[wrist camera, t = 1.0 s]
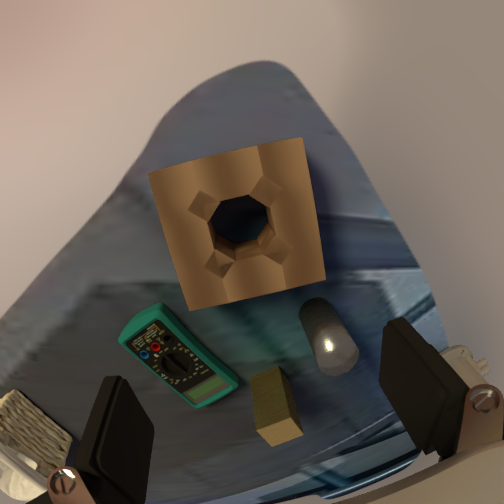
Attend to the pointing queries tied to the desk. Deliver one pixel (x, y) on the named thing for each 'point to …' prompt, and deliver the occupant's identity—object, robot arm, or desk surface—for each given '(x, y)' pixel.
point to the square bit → (275, 407)
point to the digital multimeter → (177, 356)
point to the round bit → (328, 337)
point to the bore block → (250, 252)
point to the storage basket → (28, 447)
